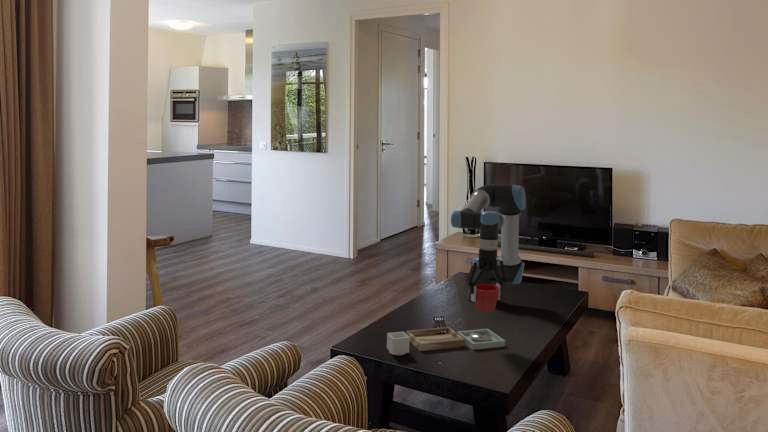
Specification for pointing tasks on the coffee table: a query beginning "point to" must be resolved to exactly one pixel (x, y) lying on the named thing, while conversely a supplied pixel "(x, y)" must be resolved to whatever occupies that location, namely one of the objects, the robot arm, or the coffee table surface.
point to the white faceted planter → (398, 343)
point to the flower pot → (486, 297)
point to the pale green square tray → (476, 344)
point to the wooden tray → (435, 339)
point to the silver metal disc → (480, 336)
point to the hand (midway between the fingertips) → (485, 300)
